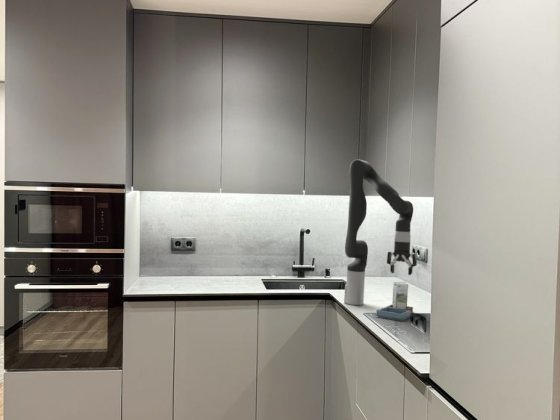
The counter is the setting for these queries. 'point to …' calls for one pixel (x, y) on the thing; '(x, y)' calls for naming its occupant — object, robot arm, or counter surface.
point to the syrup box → (400, 295)
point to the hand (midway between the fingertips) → (401, 273)
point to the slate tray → (394, 313)
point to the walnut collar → (404, 309)
